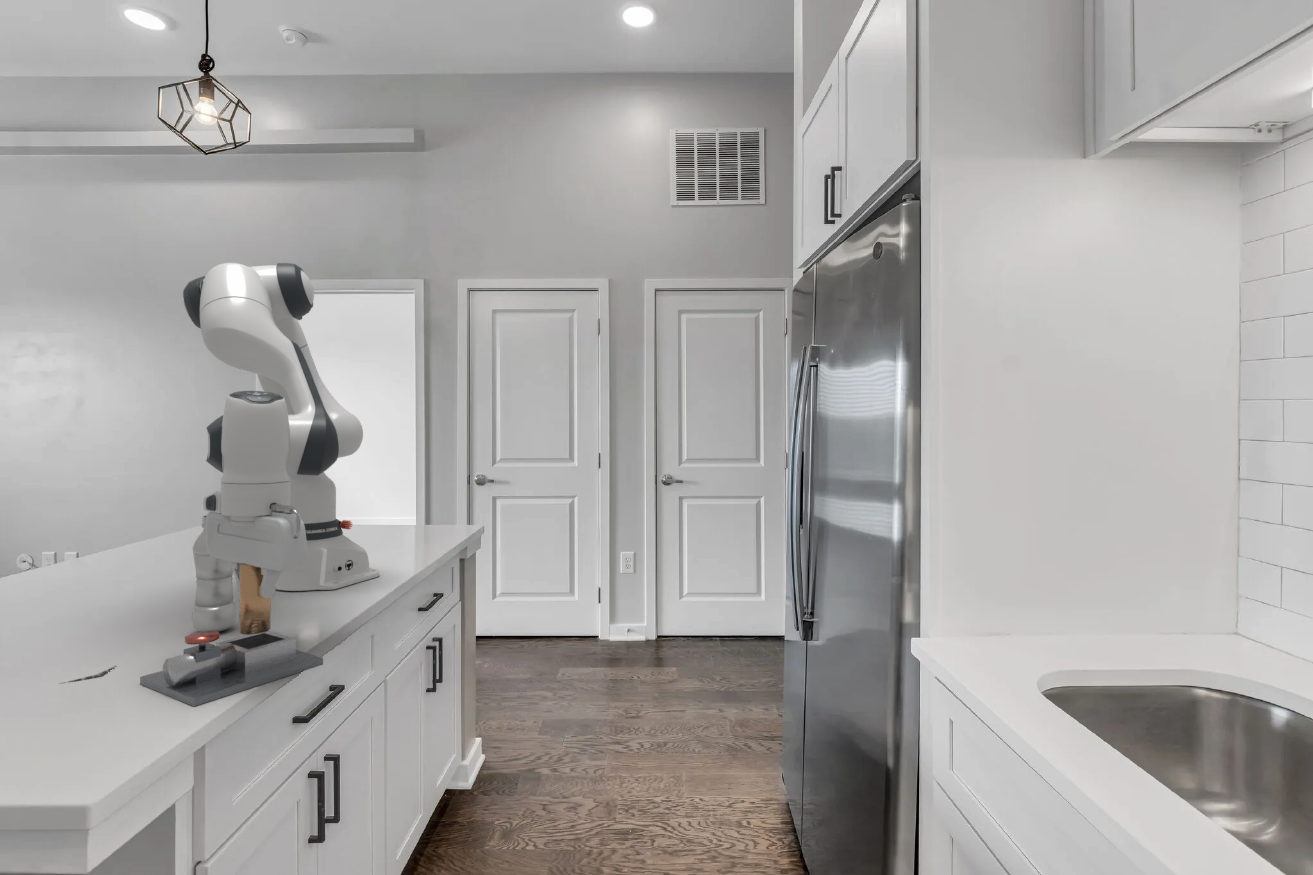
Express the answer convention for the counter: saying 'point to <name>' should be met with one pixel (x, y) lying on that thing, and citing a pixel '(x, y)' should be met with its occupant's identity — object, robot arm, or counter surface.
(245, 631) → the pipe stub
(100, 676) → the dark thin curved piece
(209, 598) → the plastic bottle
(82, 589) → the counter surface
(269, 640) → the valve fitting
